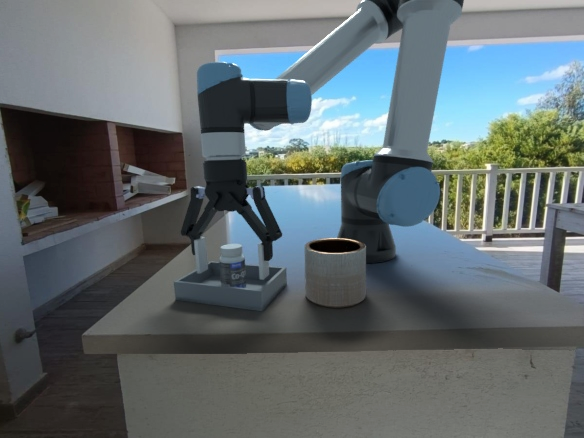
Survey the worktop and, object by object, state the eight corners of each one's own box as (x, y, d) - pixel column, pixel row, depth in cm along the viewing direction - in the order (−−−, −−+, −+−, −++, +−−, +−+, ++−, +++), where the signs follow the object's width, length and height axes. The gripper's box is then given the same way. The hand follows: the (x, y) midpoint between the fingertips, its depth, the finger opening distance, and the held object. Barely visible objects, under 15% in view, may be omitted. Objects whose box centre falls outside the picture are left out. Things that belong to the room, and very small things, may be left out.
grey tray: (286, 284, 67) (286, 267, 66) (262, 311, 55) (261, 291, 55) (211, 276, 72) (210, 261, 72) (175, 299, 61) (173, 281, 60)
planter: (363, 312, 54) (364, 255, 52) (298, 306, 57) (297, 252, 55) (367, 287, 64) (368, 238, 62) (312, 282, 67) (311, 236, 65)
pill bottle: (235, 295, 61) (231, 250, 59) (216, 290, 63) (212, 247, 62) (251, 286, 65) (249, 244, 63) (233, 282, 67) (230, 241, 65)
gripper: (297, 156, 59) (300, 272, 63) (179, 160, 67) (189, 263, 71) (282, 157, 52) (287, 287, 56) (153, 161, 60) (165, 275, 64)
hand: (232, 274), depth 63 cm, fingers open, 12 cm apart
